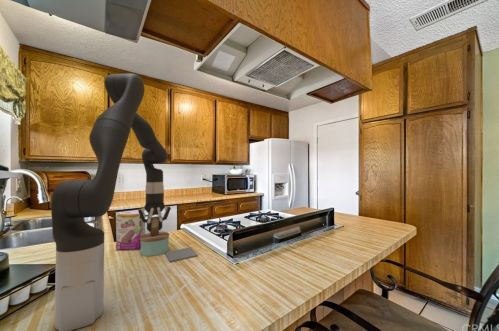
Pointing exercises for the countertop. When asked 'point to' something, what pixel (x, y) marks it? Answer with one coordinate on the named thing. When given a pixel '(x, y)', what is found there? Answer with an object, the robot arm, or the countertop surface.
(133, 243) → the candy bar box
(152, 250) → the bowl
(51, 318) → the countertop surface
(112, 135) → the robot arm
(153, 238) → the lid
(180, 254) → the mat
